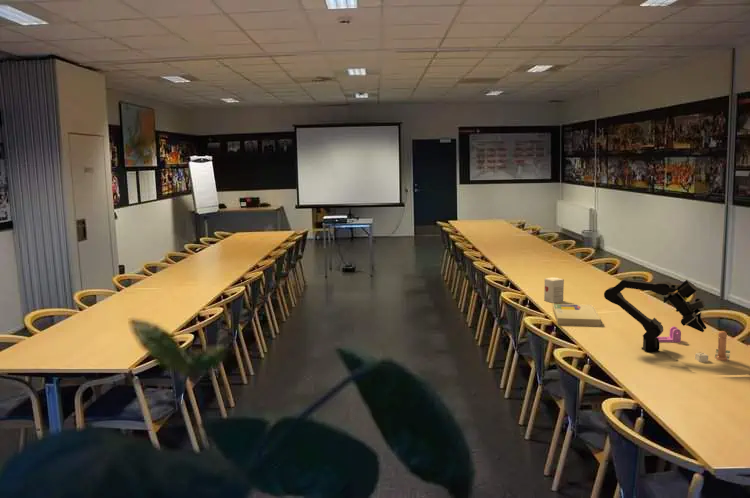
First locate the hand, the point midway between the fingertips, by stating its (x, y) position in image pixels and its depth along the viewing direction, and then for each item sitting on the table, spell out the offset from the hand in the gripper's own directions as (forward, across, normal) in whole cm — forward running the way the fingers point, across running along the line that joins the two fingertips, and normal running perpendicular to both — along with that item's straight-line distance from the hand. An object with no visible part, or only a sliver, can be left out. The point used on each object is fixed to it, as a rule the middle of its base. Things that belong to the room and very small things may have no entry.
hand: (704, 330), depth 297 cm
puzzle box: (-43, +43, +63) cm, 88 cm away
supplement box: (-62, +77, +82) cm, 128 cm away
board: (+14, +7, +5) cm, 17 cm away
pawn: (+14, 0, +3) cm, 15 cm away
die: (+10, -6, +9) cm, 15 cm away
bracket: (-5, +21, +25) cm, 33 cm away
